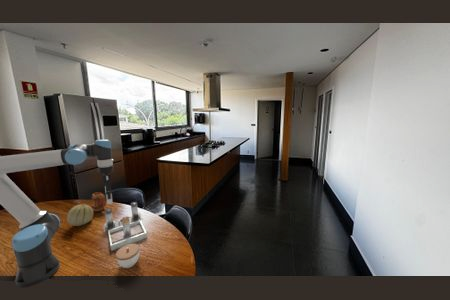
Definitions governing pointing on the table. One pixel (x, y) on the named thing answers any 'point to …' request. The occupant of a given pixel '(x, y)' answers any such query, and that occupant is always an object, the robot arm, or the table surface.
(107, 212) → the fuse left
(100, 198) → the mug
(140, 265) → the table surface
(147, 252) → the table surface
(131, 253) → the lidded jar
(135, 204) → the fuse right
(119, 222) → the fuse holder
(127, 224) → the marked fuse
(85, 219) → the cantaloupe
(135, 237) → the tray
